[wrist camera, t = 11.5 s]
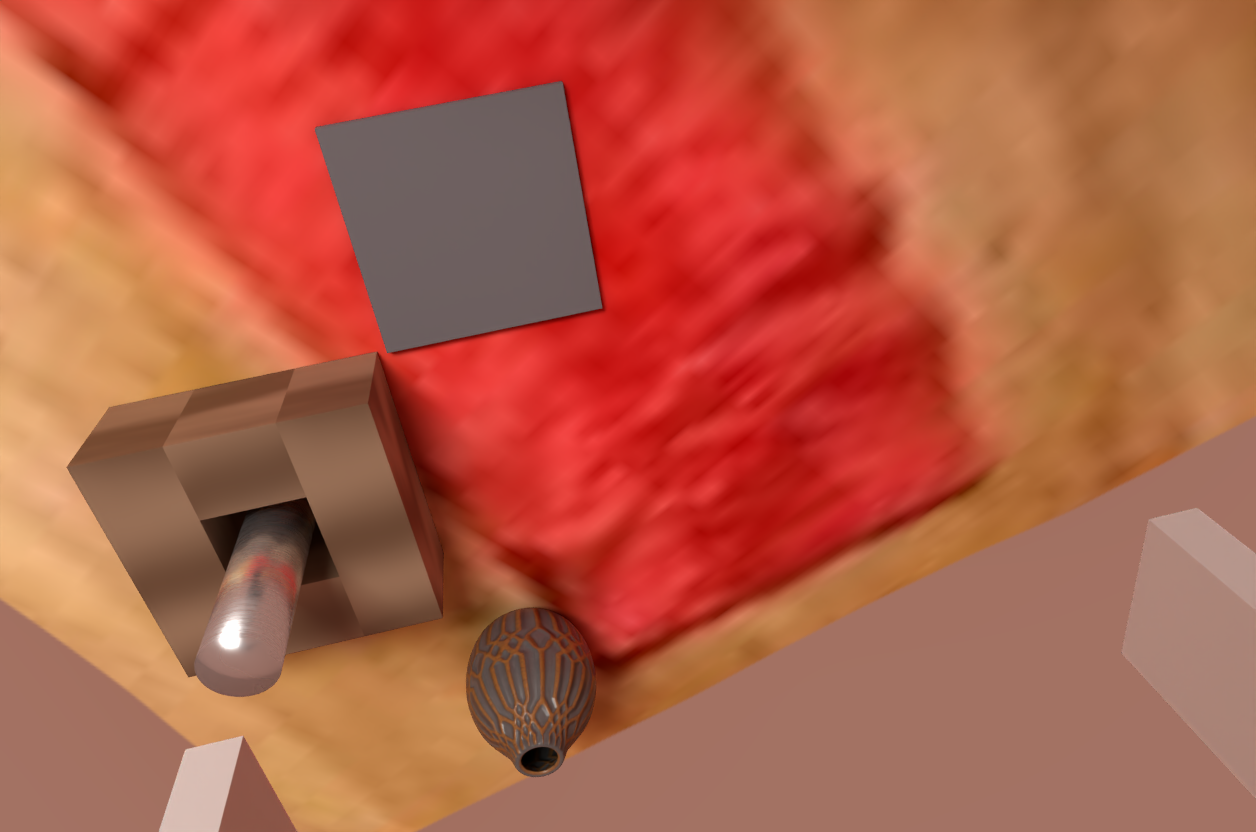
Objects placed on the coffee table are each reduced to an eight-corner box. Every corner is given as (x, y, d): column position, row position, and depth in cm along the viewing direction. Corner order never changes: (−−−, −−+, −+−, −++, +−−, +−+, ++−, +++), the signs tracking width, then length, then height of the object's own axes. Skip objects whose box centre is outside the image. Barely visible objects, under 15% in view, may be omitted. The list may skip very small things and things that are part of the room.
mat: (316, 127, 35) (314, 128, 34) (561, 81, 35) (562, 82, 35) (387, 349, 40) (387, 353, 39) (601, 305, 40) (602, 308, 40)
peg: (248, 467, 41) (180, 647, 31) (311, 454, 42) (265, 628, 31) (270, 517, 43) (212, 704, 33) (330, 504, 43) (293, 686, 33)
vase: (508, 570, 47) (518, 692, 40) (609, 615, 50) (637, 737, 42) (442, 654, 49) (440, 785, 42) (543, 693, 52) (558, 822, 44)
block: (109, 407, 39) (66, 467, 34) (377, 351, 40) (367, 403, 35) (213, 605, 45) (188, 677, 40) (443, 553, 46) (442, 617, 41)
